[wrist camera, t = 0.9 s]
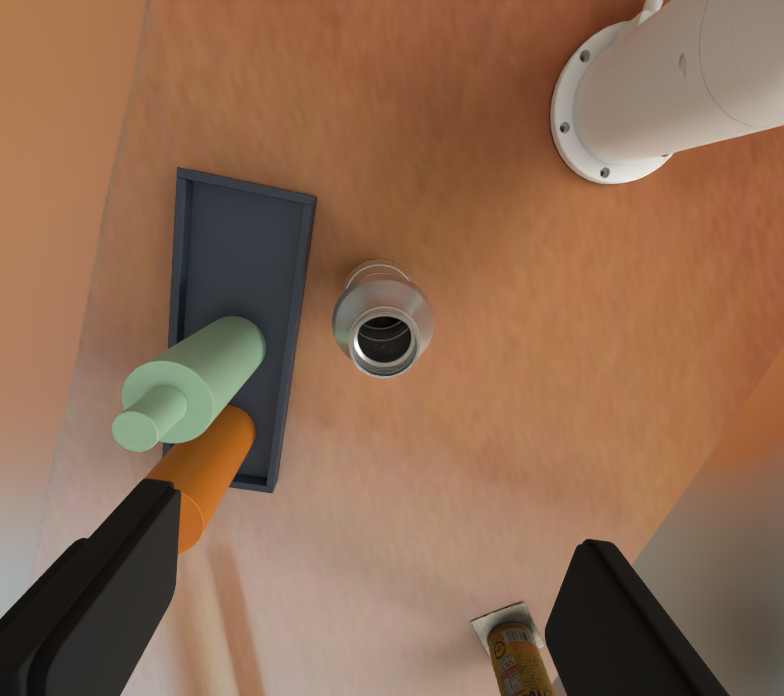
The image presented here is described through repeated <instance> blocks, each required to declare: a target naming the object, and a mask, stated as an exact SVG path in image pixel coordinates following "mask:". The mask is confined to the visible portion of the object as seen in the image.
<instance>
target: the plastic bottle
mask: <svg viewBox="0 0 784 696" xmlns="http://www.w3.org/2000/svg"><path fill="white" fill-rule="evenodd" d="M434 324H435V321H434V312H433V309H432V306H431V303H430V302H429V300H428V298H427V296H426V295H425V294H424V292H423V291H422V290H421V289H420V288H419V287H418V286H416V285H415V284H414V283H413V280H412V278H411V276H410V275H409V273H408V272H407V271H406V270H405V269H404V268H403V267H402V266H400V265H399V264H397V263H395V262H393V261H390V260H386V259H372V260H369V261H365V262H363V263H361V264H359V265H358V266H357V267H355V268H354V269H353V270H352V271H351V272H350V274H349V275H348V277H347V279H346V280H345V283H344V287H343V294H342V295H341V296H340V298H339V300H338V301H337V303H336V305H335V308H334V312H333V318H332V327H333V334H334V337H335V339H336V342H337V344H338V345H339V347H340V349H341V350H342V351H343V352H344V354H345V355H346V356H347V357H348V358H350V359H351V360H352V361H354V363H355V364H356V366H357V367H358V368H359V369H360V370H361V371H363V372H364V373H366V374H368V375H370V376H372V377H376V378H384V379H386V378H393V377H396V376H399V375H401V374H403V373H405V372H406V371H407V370H409V369H410V368H411V367H412V366H413V364H414V363H415V361H416V359H418V358H419V357H420V355H421V354H422V353H423V352H424V351H425V349H426V348H427V346H428V344H429V343H430V341H431V338H432V335H433V332H434Z"/></svg>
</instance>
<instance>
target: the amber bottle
mask: <svg viewBox="0 0 784 696" xmlns="http://www.w3.org/2000/svg"><path fill="white" fill-rule="evenodd" d="M255 436H256V428H255V425H254V422H253V420H252V419H251V417H250V416H249V415H248V414H247V413H246V412H245V411H243V410H242V409H240V408H238V407H235V406H232V405H226V406H225V407H224V409H223V410H222V411H221V412H220V413H219V415H218V416H217V417H216V418H215V419H214V421H213V422H212V423H211V424H210V425H209V427H208V428H207V429H206V430H205V431H204V432H203V433H202V434H201V435H199V436H198V437H196V438H194V439H192V440H190V441H186V442H182V443H176V444H175V445H174V446H173V447H172V448H171V449H170V450H169V451H168V453H167V454H166V455H165V456H164V457H163V458H162V459H161V460H160V461H159V462H158V463H157V465H156V466H155V467H154V468H153V469H152V470H151V471H150V472H149V473H148V474H147V476H146V477H145V478H149V479H157V480H164V481H171V482H173V483H174V489H178V490H181V509H180V525H179V541H178V553H181V552H184V551H186V550H188V549H190V548H191V547H192V546H194V545H195V544H196V543H197V542H198V541H199V539H200V538H201V536H202V534H203V532H204V530H205V529H206V527H207V525H208V523H209V521H210V520H211V518H212V516H213V514H214V512H215V511H216V509H217V507H218V505H219V503H220V502H221V500H222V498H223V496H224V494H225V493H226V491H227V489H228V487H229V486H230V484H231V482H232V480H233V478H234V477H235V475H236V473H237V471H238V469H239V468H240V466H241V464H242V462H243V460H244V459H245V457H246V455H247V453H248V451H249V450H250V448H251V446H252V444H253V442H254V440H255ZM145 478H144V479H145Z"/></svg>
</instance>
